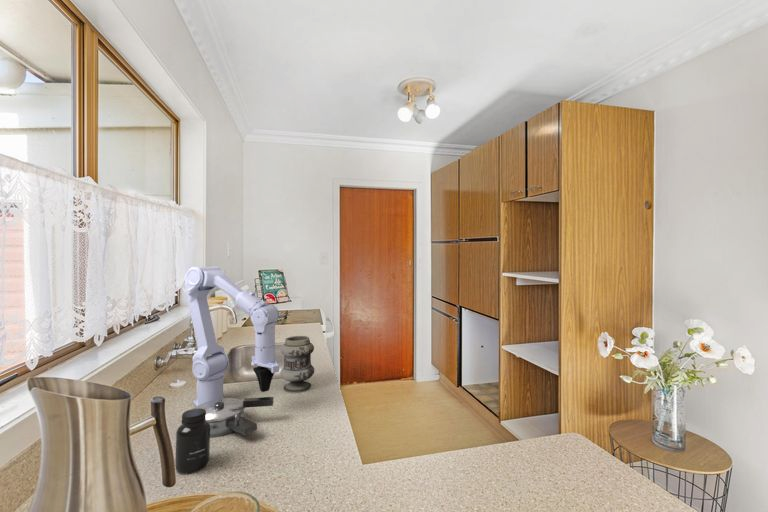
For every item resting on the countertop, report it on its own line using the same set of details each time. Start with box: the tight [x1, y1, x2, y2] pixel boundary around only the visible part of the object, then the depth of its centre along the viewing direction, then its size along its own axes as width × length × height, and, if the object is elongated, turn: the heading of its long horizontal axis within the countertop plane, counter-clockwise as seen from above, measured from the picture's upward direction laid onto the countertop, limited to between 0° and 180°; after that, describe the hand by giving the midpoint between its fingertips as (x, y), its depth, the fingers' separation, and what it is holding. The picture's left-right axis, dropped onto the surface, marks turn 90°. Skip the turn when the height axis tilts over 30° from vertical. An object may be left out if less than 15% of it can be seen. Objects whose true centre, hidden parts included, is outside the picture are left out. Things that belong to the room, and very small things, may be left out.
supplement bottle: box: [174, 408, 211, 475], centre depth 79 cm, size 7×7×12 cm
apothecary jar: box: [279, 335, 315, 394], centre depth 127 cm, size 12×12×18 cm
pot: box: [209, 410, 258, 438], centre depth 96 cm, size 21×13×7 cm, turn 56°
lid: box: [193, 396, 275, 422], centre depth 99 cm, size 21×14×2 cm, turn 101°
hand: (264, 390), depth 106 cm, fingers closed
